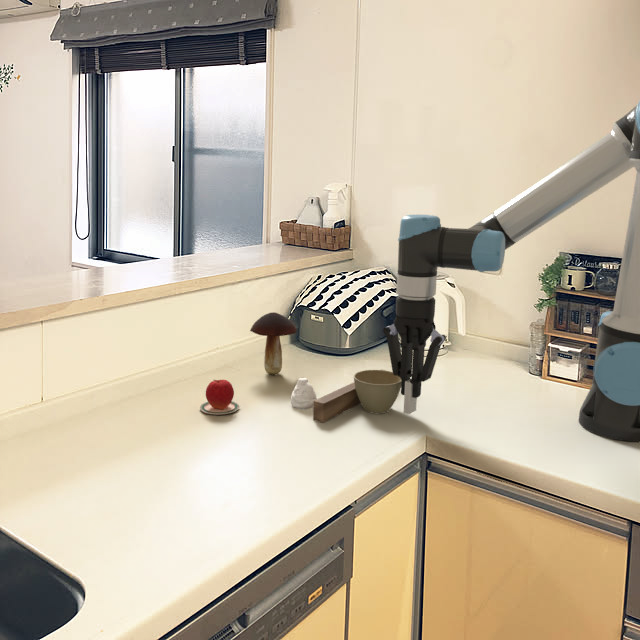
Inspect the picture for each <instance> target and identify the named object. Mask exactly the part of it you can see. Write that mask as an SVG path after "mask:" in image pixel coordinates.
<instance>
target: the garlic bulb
mask: <svg viewBox="0 0 640 640" xmlns="http://www.w3.org/2000/svg"><path fill="white" fill-rule="evenodd" d="M308 381H309V379H308V378H306V377H304V378H303V377H301V378H298V380H297V382H296V385H295V387H294V388H293V390H292V393H291V396H290V405H291V406H292V407H293V408H294V409H301V410H307V409H311V408H313V403H314V400H317V399H318V398H317V394H316V392H315V389H314V387H313V386H312V384H311V383H309V382H308Z"/></svg>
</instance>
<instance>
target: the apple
mask: <svg viewBox="0 0 640 640" xmlns="http://www.w3.org/2000/svg"><path fill="white" fill-rule="evenodd" d="M234 397H235V390H234V387H233V385H232V382H230V381H228V380H227V379H218V380H217V379H213V380H212V381H211V382H209V384H208V385H207V386H206V389H205V398H206V400H207V401H205V402H203V403H202V404H201V405H199V409H200V411H201V412H203V413H205V414H210V415H228V414H232V413H235V412H236V411H238V410H239V409H240V404H239V403H238V402H236V401H233V399H234Z"/></svg>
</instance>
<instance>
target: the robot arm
mask: <svg viewBox="0 0 640 640" xmlns="http://www.w3.org/2000/svg"><path fill="white" fill-rule="evenodd" d="M633 168H634V169H635V171H636V175H635V181H634V182H635V183H634V187H633V188H634V189H633V192H632V193H633V194H632V197H631V198H632V199H631V203H630V210H629V217H628V221H627V222H628V223H627V229H626V234H625V239H624V245H623V251H622V258H621V262H620V263H621V264H620V269H619V275H618V281H617V282H618V283H617V288H616V293H615V299H614V305H613V310H609V311H603V313H602V314H601V315H600V319H599V323H598V324H597V325H598V334H597V342H596V352H595V358H594V364H593V368H592V369H593V370H592V373H593V377H592V385H591V387H590V388H589V391H588V393H587V394H586V397H585V399H584V400H583V402H582V404H581V407H580V410H579V414H578V415H579V416H578V423H579V425H580V426H581V427H583V428H584V429H586V430H588V432H591V433H594V434H595V435H598V436H601V437H605V438H608V439H613V440H617V439H618V441H623V442H625V441H626V442H640V100H639V101H638V103H637V104H636V106H635V105H634V107H633V108H632V109H631V110H629V112H627V113H626V114H625V115H623V116H622V117H620V118H619V119H618V120H616V121H615V122H613V124H612V129H611V131H610V132H609V133H607V134H606V135H605V136H603V137H601V138H600V139H599V140H597V141H596V142H594V143H592V144H591V145H590V146H588V147H586V148H585V149H583V151H581V152H580V153H578V154H577V155H575V156H573V157H572V158H570V159H569V160H568V161H566V162H564V163H563V164H562V165H560V166H559V167H557V168H556V169H555V170H553V171H552V172H550V173H549V174H547V175H546V176H545V177H543V178H542V179H540V180H539V181H537V182H536V183H534V184H532V185H531V186H530V187H528V188H527V189H525V190H524V191H522V192H521V193H519V194H518V195H517V196H516V197H514V198H512V199H511V200H509V201H508V202H506V203H505V204H503V205H501V206H500V207H499V208H497V209H496V210H495V211H493V212H492V213H490V214H489V215H487V216H486V217H484V218H483V219H481V220H480V221H478V222H477V223H475V224H474V225H472V226H471V227H469V228H456V227H455V228H454V227H445V226H442V224H441V219H440V217H439V216H438V215H434V214H433V215H430V214H408V215H405V216H403V217H402V218H401V220H400V225H399V226H400V227H399V234H398V235H399V237H398V239H397V241H398V250H397V251H398V252H397V253H398V255H397V259H398V260H397V276H396V278H397V279H396V294H397V297H395V314H396V315H395V318H394V320H393V323H392V324H390V325H388V326H385V327H383V328H382V332H383V334H384V335H385V338H386V342H387V347H388V353H389V358H390V364H391V372H393V374H394V375H395V376H396V375H397V376H399V377H400V378H401V389H400V394H401V395H402V396H404V397H403V413H404V414H408V415H410V414H412V413H414V412H415V411H417V402H418V401H417V399H418V398H419V397H421V394H422V383H423V382H424V383H425V382H426V381H429V379H431V378H432V375H433V372H434V369H435V365H436V362H437V359H438V356H439V352H440V349H441V346H442V345H443V344H444V343H445V341H446V339H447V336H446V334H441V333H440V332H439V331H437V329H436V324H435V320H434V319H435V313H436V299H435V297H434V296H436V293H437V280H438V279H437V277H438V269H439V268H441V269H445V268H447V269H455V270H456V269H457V270H464V271H465V270H466V271H467V270H468V271H475V272H476V271H477V272H480V273H484V272H493V273H494V272H498V271H500V270H501V269H502V267H503V264H504V261H505V253H506V250H507V249H509V248H511V246H513V245H515V244H516V243H518V242H519V241H521V240H523V239H524V238H525V237H528V236H529V235H531V233H534V232H535V231H536V230H538V229H539V228H541V227H543V226H544V225H545V224H548V223H549V222H551V221H552V220H553V219H555V218H556V217H558V216H560V215H561V214H563V213H565V212H566V211H568V210H569V209H571V208H572V207H574V206H575V205H577V204H578V203H580V202H581V201H583V200H585V199H586V198H588V197H589V196H590V195H592V194H593V193H595V192H598V191H599V190H601V188H603V187H605V186H606V185H608V184H609V183H611V182H613V181H614V180H616V179H618V177H621V176H622V175H623V174H624V173H626V172H628V171H629V170H632V169H633ZM430 337H431V338H430ZM399 338H400V339H399ZM429 338H430V345H429V347H428V349H427V350H428V351H427V353H426V355H425V348H426V346H427V341H428V339H429ZM425 356H426V357H425Z"/></svg>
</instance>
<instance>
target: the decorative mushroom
mask: <svg viewBox="0 0 640 640" xmlns="http://www.w3.org/2000/svg"><path fill="white" fill-rule="evenodd" d="M249 332H252V333H254V334H256V335H258V336H259V335H260V336H264V337H265V336H266V341H265V348H264V356H263V357H264V359H263V360H264V364H263V365H264V371H265V372H266V373H267V374H268V375H272V376H275V375H278V374H279V373H280V372H281V371H282V368H283V350H282V344H281V339H280V338H281V337H285V336H289V335H294V334H296V333H297V332H298V329H297V327H296V325H295V323H294V322H293V321H292V320H291V319H289V318H288V317H286V316H285V315H282V314H280V313H278V312H268V313H266V314H263V315H262V316H260V318H258V319H256V321H255V322H254V323H253V325H252V326H251V328H250V330H249Z"/></svg>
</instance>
